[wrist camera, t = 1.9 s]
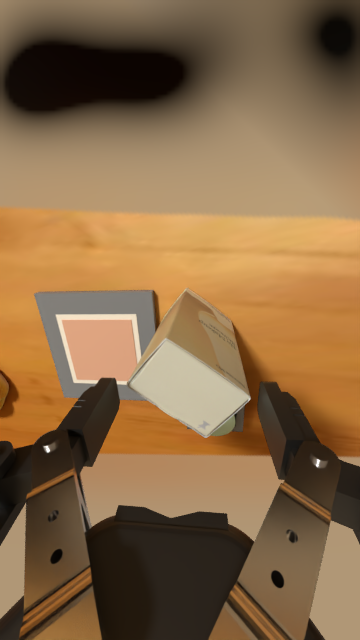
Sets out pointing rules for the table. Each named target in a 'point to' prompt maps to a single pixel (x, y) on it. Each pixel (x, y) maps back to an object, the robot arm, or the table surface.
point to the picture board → (97, 336)
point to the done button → (225, 427)
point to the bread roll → (3, 390)
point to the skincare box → (193, 366)
